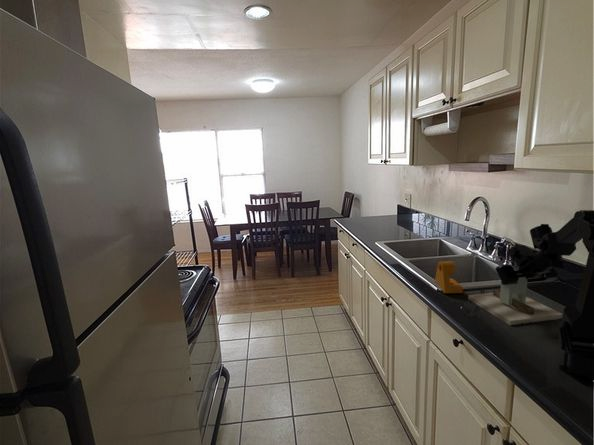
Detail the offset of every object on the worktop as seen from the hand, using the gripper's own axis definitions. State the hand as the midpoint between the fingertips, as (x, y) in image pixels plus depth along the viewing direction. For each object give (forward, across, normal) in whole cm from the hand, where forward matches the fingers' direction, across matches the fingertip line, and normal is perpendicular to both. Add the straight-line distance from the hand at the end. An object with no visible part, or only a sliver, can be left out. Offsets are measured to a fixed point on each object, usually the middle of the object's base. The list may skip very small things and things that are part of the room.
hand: (510, 282), depth 114 cm
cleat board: (+5, 0, +7) cm, 9 cm away
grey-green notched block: (+4, 0, +6) cm, 7 cm away
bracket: (+20, +11, -7) cm, 24 cm away
